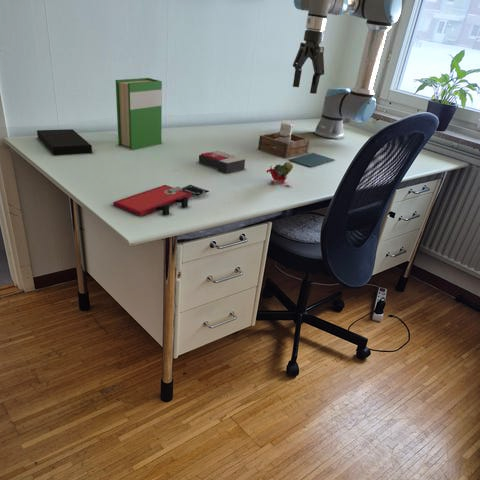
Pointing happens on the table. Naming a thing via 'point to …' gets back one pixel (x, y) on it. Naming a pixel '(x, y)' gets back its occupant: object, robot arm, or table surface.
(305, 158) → the mat
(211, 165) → the calculator
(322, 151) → the table surface
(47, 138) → the external hard drive
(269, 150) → the crate
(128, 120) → the hardback book
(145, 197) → the red board with handle
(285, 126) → the ink box
